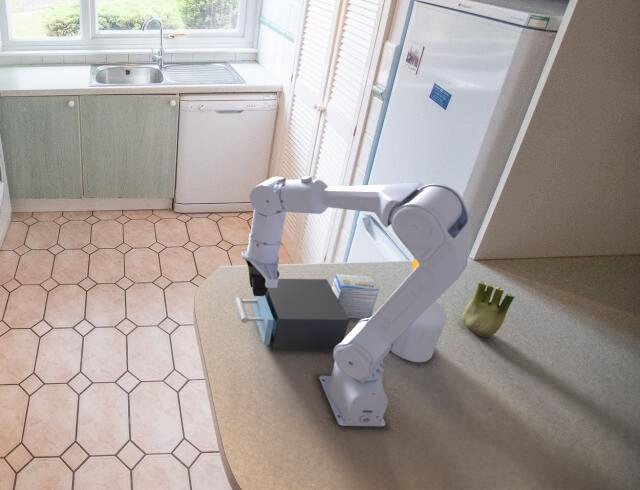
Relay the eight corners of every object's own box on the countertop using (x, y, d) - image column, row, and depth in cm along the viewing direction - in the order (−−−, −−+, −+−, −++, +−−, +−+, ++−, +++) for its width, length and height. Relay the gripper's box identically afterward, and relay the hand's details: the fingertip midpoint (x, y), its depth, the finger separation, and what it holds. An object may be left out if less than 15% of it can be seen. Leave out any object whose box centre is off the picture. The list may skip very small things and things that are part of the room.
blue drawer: (241, 344, 92) (245, 319, 89) (231, 306, 101) (234, 283, 98) (325, 345, 92) (331, 320, 89) (307, 307, 101) (312, 284, 98)
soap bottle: (439, 367, 88) (481, 267, 78) (389, 359, 90) (423, 260, 79) (422, 331, 96) (458, 236, 86) (376, 324, 98) (405, 231, 87)
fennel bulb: (498, 338, 95) (519, 294, 90) (480, 343, 93) (500, 299, 88) (472, 318, 100) (490, 275, 95) (454, 323, 98) (472, 279, 93)
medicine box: (363, 305, 103) (371, 275, 99) (370, 320, 99) (380, 290, 95) (327, 303, 104) (334, 273, 100) (333, 317, 100) (341, 287, 96)
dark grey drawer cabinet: (273, 350, 92) (279, 318, 88) (259, 308, 102) (264, 278, 99) (340, 351, 92) (349, 319, 88) (319, 308, 102) (326, 279, 98)
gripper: (237, 214, 93) (230, 267, 99) (253, 260, 80) (245, 317, 86) (271, 215, 93) (262, 267, 99) (293, 260, 80) (282, 317, 86)
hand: (257, 290), depth 93 cm, fingers closed
